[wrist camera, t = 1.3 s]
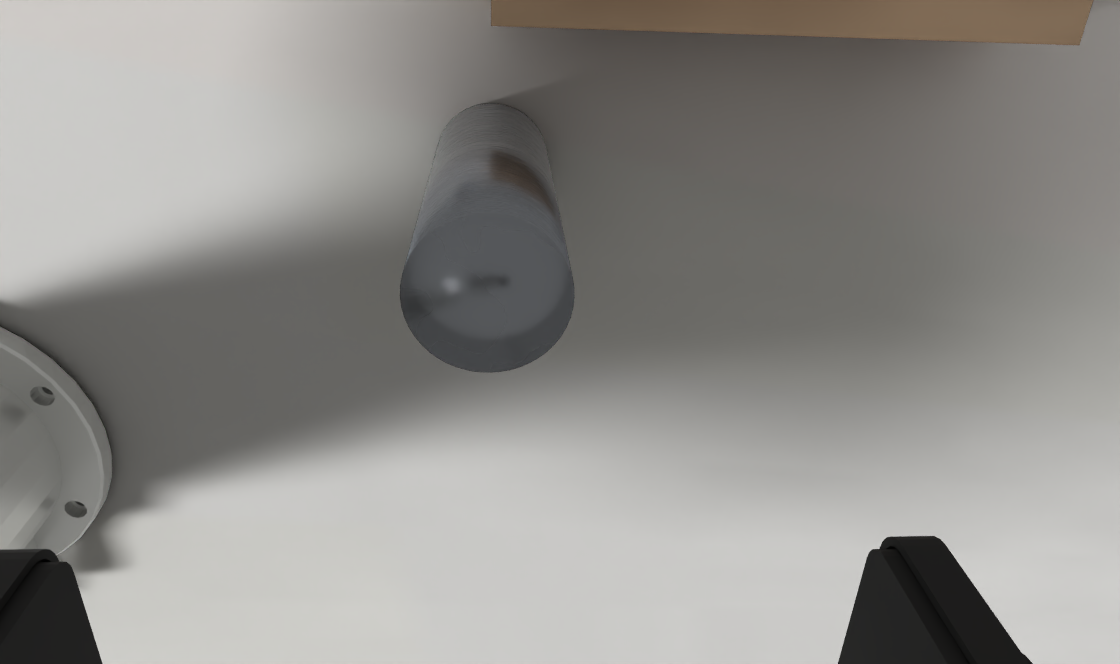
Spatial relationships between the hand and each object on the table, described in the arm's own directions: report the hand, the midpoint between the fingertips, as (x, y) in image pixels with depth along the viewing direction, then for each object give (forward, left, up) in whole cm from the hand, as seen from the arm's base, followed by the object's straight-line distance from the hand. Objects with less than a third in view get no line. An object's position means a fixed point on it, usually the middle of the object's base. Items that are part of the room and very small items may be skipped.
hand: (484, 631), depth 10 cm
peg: (0, 0, -22) cm, 22 cm away
